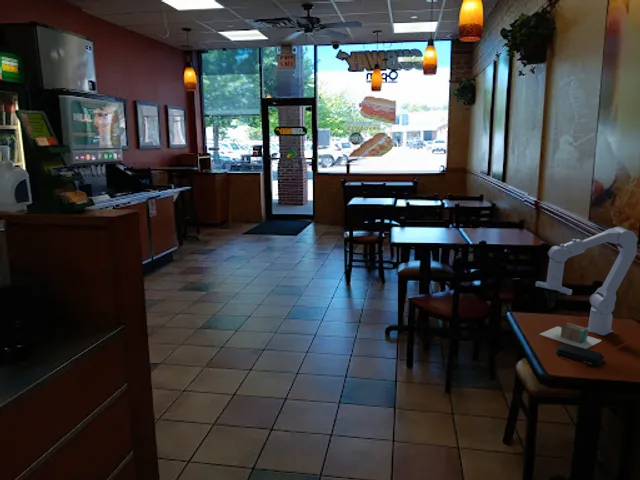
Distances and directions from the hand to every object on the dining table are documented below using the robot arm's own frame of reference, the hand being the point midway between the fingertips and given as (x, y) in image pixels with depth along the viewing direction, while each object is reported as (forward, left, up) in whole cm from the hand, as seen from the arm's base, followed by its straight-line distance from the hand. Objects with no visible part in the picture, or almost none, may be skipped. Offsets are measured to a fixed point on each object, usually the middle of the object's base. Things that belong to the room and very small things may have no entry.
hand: (550, 306), depth 211 cm
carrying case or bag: (+19, +22, -10) cm, 31 cm away
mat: (+4, +11, -9) cm, 15 cm away
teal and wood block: (+4, +9, -6) cm, 11 cm away
